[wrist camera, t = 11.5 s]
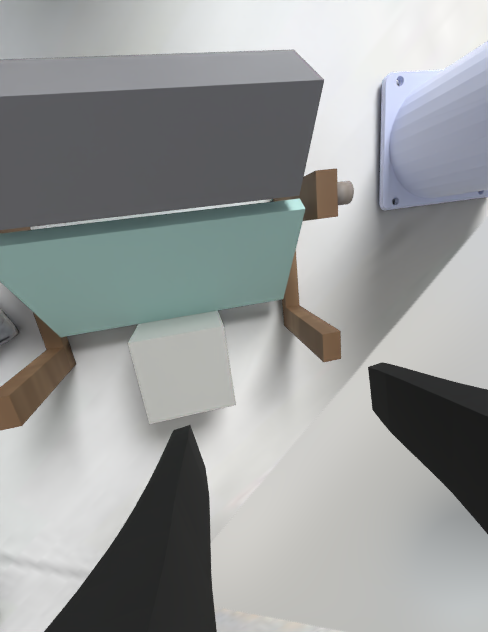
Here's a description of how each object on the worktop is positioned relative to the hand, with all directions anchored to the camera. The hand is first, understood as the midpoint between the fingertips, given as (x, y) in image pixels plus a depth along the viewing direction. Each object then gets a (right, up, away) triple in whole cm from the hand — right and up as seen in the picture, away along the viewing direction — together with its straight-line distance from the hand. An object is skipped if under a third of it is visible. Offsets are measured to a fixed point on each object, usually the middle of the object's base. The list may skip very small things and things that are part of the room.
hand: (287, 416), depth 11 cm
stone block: (-6, +4, +6) cm, 9 cm away
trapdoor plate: (-6, +9, +4) cm, 12 cm away
